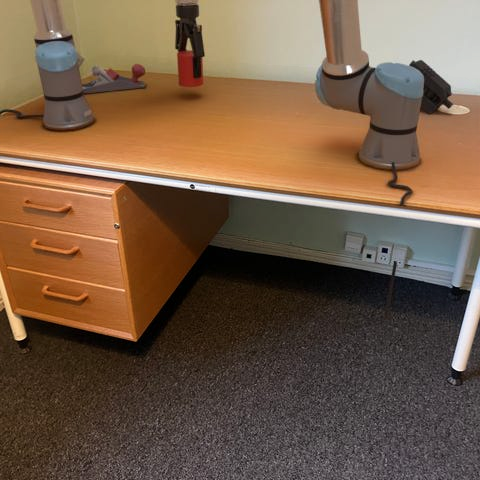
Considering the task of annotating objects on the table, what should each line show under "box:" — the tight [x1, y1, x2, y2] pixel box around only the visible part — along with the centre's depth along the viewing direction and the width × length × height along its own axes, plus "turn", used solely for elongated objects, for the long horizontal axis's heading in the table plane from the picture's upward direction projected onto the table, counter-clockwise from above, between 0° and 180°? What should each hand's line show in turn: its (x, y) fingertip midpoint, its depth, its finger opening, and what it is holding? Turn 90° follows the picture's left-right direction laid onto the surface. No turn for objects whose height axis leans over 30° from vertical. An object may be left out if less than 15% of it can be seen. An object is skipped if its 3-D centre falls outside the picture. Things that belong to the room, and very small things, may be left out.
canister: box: [176, 49, 204, 88], centre depth 183 cm, size 9×9×10 cm
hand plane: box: [76, 49, 146, 95], centre depth 194 cm, size 7×31×15 cm, turn 107°
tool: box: [408, 59, 454, 114], centre depth 170 cm, size 6×19×15 cm, turn 51°
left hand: (190, 74), depth 184 cm, fingers closed on canister, 9 cm apart
